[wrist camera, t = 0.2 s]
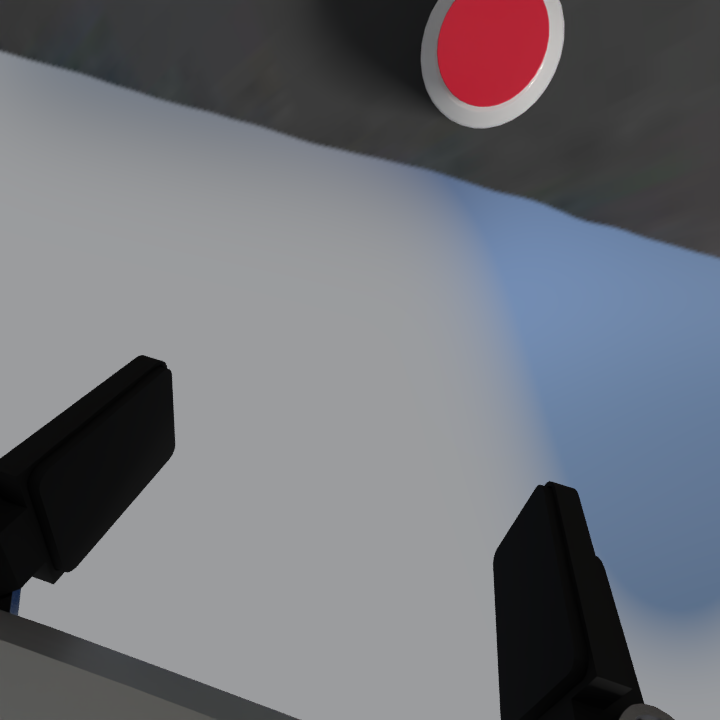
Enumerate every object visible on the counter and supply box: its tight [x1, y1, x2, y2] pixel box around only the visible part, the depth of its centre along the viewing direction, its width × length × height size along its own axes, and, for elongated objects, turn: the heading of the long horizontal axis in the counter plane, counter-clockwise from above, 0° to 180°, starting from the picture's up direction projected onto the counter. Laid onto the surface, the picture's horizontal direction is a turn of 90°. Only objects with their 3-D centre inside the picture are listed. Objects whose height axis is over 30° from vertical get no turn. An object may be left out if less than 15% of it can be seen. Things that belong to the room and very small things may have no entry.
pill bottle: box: [421, 0, 564, 128], centre depth 26 cm, size 8×8×11 cm
